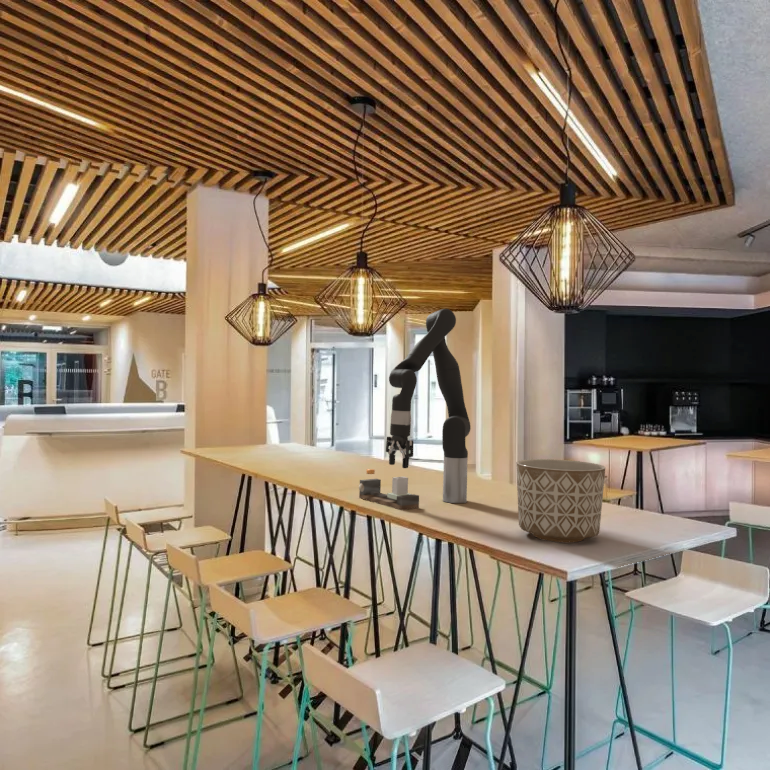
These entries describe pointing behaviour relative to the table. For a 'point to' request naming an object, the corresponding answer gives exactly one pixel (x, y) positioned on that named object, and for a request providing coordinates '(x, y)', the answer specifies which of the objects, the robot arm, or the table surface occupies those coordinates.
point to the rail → (372, 493)
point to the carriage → (399, 487)
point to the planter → (560, 498)
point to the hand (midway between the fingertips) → (398, 466)
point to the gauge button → (370, 471)
